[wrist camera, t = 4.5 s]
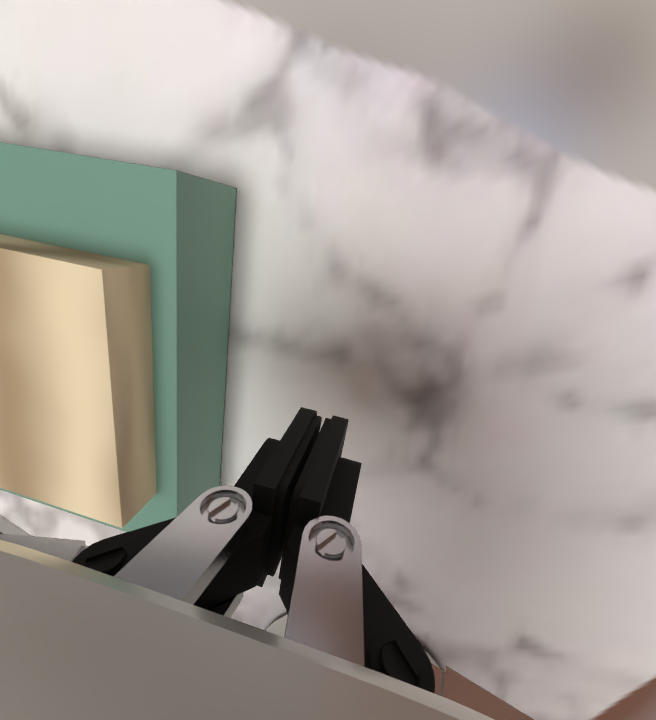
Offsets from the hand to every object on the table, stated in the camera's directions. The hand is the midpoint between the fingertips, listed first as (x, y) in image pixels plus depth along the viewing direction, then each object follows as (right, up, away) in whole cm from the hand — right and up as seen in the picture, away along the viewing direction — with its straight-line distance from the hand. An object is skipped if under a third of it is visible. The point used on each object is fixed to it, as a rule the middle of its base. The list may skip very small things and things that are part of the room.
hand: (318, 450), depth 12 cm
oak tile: (-10, +3, +2) cm, 11 cm away
